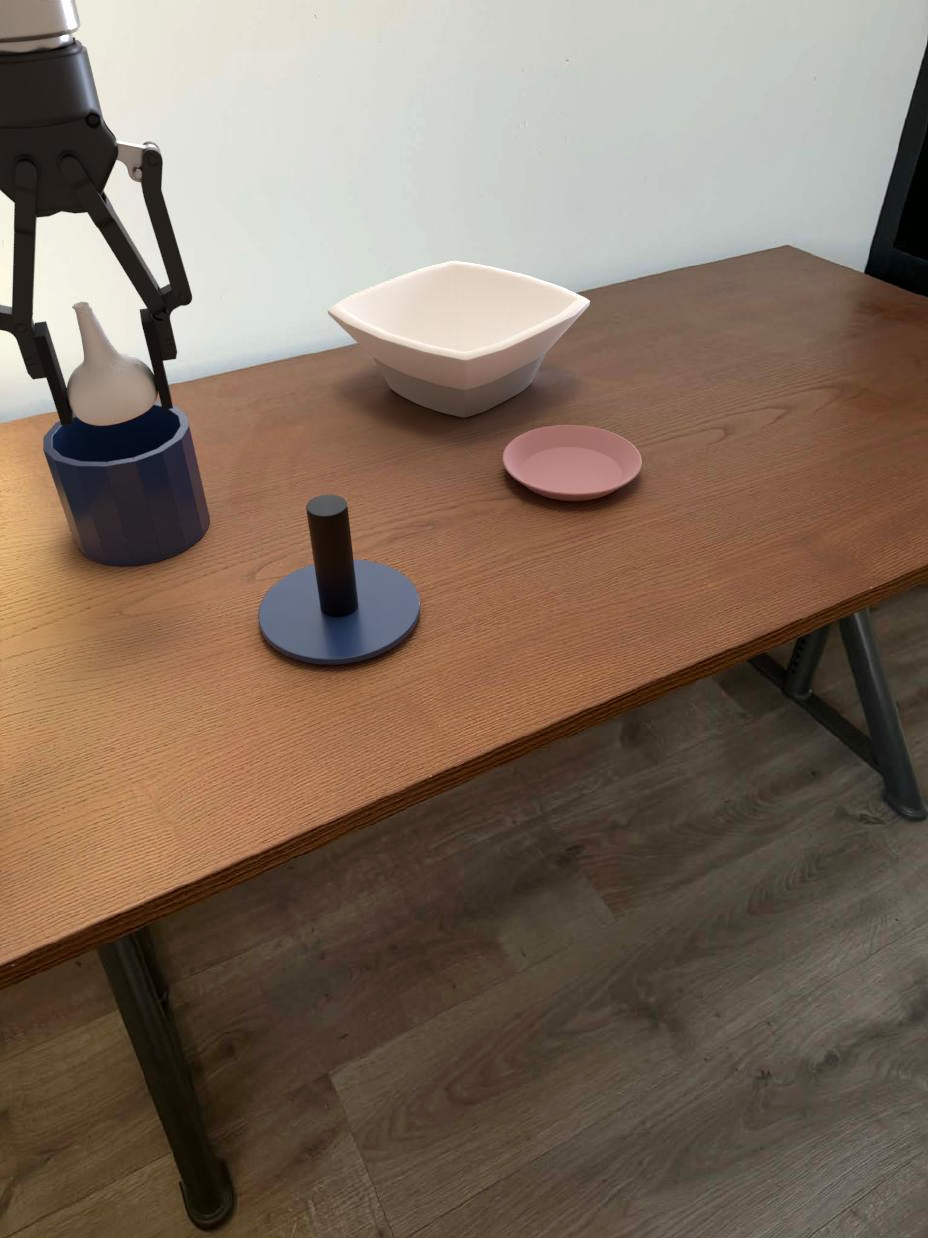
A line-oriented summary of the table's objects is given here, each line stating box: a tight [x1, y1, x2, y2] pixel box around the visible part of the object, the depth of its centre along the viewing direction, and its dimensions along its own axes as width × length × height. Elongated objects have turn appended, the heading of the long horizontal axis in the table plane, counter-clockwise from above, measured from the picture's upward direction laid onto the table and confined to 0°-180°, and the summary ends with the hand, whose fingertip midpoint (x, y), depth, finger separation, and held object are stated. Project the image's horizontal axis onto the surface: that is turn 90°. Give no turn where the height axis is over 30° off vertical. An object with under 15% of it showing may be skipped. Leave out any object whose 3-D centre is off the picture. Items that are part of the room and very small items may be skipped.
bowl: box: [327, 260, 591, 419], centre depth 111 cm, size 24×25×10 cm
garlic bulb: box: [66, 301, 159, 426], centre depth 66 cm, size 6×6×8 cm
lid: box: [257, 494, 421, 666], centre depth 76 cm, size 14×14×11 cm
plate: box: [501, 424, 643, 502], centre depth 97 cm, size 14×14×2 cm
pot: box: [42, 400, 211, 567], centre depth 87 cm, size 13×13×10 cm
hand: (117, 408), depth 68 cm, fingers closed on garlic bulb, 6 cm apart
